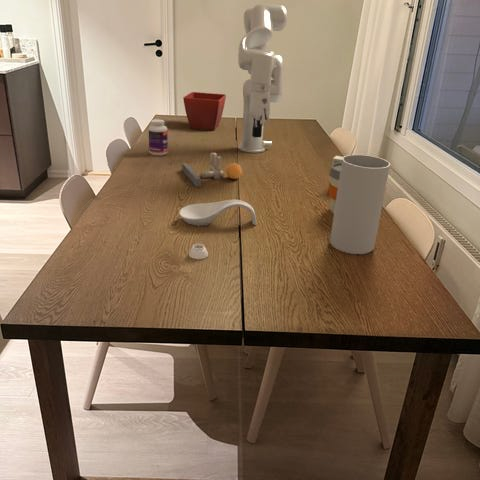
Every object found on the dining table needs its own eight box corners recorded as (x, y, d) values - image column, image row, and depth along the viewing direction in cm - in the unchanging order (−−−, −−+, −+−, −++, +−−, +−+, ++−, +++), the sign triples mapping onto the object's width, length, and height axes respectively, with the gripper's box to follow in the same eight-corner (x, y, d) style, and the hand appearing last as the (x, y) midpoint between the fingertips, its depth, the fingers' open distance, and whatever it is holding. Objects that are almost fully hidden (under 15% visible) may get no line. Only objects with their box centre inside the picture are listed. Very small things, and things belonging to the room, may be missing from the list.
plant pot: (182, 129, 257) (182, 97, 250) (191, 122, 274) (192, 91, 267) (218, 133, 255) (219, 100, 247) (225, 125, 272) (226, 94, 264)
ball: (220, 168, 187) (228, 171, 192) (228, 181, 185) (236, 183, 191) (232, 158, 185) (239, 161, 190) (239, 171, 183) (247, 173, 188)
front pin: (222, 169, 190) (201, 170, 187) (223, 172, 188) (202, 173, 186) (221, 174, 192) (200, 175, 189) (223, 178, 190) (202, 179, 187)
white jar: (211, 256, 130) (198, 250, 133) (212, 246, 129) (198, 240, 132) (198, 262, 127) (185, 256, 129) (199, 252, 125) (185, 246, 128)
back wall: (186, 170, 195) (186, 162, 194) (200, 186, 178) (200, 178, 177) (182, 170, 194) (182, 163, 193) (196, 187, 178) (196, 179, 176)
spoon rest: (178, 230, 144) (179, 207, 141) (179, 214, 154) (179, 193, 151) (258, 230, 147) (260, 208, 144) (253, 215, 157) (254, 194, 154)
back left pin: (218, 177, 189) (219, 156, 185) (220, 179, 187) (221, 158, 183) (212, 178, 188) (213, 156, 184) (214, 180, 186) (215, 158, 182)
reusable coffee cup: (317, 210, 164) (323, 166, 158) (337, 201, 172) (343, 160, 166) (349, 221, 156) (357, 176, 150) (369, 212, 165) (377, 169, 159)
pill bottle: (166, 156, 210) (165, 123, 204) (147, 155, 210) (146, 122, 204) (169, 151, 218) (168, 119, 211) (151, 150, 218) (150, 118, 211)
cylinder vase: (365, 260, 133) (382, 171, 122) (322, 247, 138) (335, 161, 128) (379, 244, 142) (396, 160, 132) (339, 232, 148) (351, 152, 137)
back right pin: (214, 173, 193) (215, 152, 189) (216, 175, 191) (217, 154, 187) (208, 174, 192) (209, 152, 189) (210, 175, 190) (211, 154, 187)
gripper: (277, 91, 176) (273, 141, 184) (261, 84, 188) (258, 132, 196) (258, 91, 173) (255, 142, 181) (243, 84, 186) (240, 132, 194)
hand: (256, 136), depth 189 cm, fingers closed
